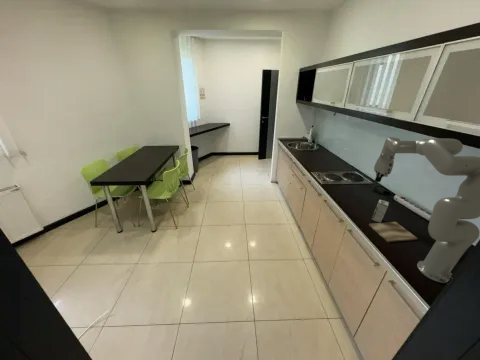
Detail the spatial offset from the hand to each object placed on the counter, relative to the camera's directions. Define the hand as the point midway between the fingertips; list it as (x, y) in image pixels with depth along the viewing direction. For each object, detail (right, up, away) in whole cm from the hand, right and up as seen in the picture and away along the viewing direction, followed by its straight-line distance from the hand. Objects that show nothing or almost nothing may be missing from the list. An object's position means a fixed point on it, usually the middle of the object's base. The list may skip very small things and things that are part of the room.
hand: (377, 181), depth 137 cm
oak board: (+2, -33, -10) cm, 34 cm away
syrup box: (+1, -27, +2) cm, 27 cm away
